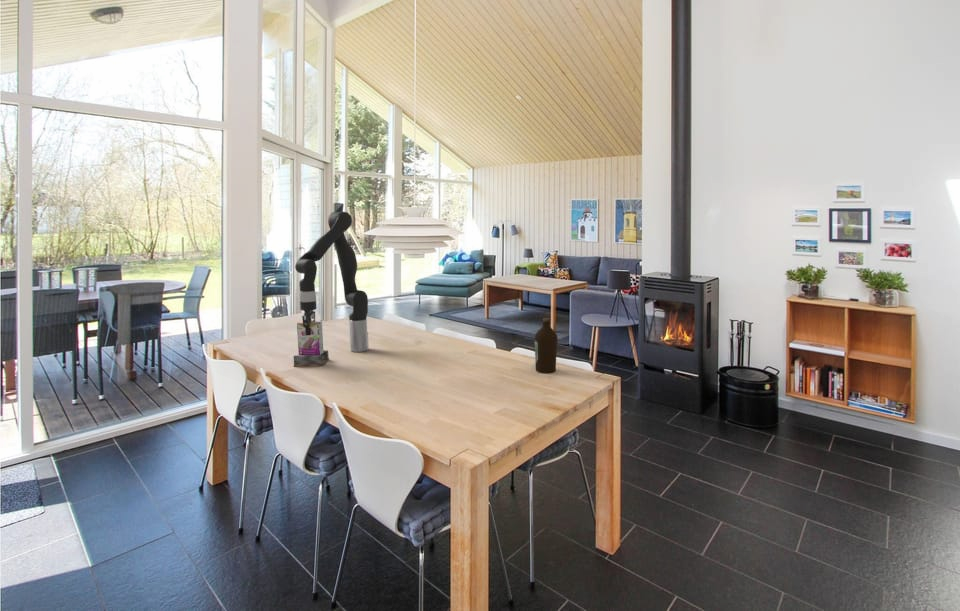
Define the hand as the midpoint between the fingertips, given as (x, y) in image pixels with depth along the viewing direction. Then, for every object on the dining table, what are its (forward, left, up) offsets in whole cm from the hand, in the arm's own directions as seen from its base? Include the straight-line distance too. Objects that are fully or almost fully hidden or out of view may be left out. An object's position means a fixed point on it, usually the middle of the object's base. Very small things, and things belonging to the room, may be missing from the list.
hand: (310, 333), depth 247 cm
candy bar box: (0, 0, -11) cm, 11 cm away
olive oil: (-114, +20, -15) cm, 117 cm away
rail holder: (0, 0, -15) cm, 15 cm away
